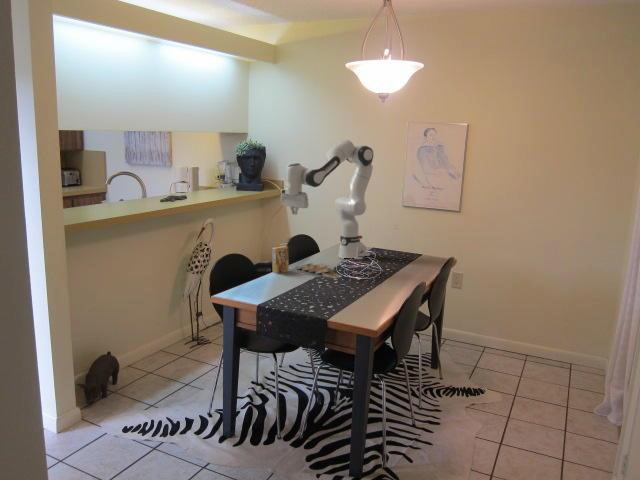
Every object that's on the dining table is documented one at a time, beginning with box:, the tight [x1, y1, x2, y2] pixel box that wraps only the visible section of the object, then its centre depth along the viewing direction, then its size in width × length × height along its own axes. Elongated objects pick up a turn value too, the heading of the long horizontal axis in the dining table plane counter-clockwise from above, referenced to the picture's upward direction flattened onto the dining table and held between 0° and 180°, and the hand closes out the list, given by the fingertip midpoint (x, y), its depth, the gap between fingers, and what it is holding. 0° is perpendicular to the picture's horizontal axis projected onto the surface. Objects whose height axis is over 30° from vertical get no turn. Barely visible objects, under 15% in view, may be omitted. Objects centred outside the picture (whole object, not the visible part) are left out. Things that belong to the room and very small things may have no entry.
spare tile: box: [308, 265, 328, 272], centre depth 290 cm, size 5×2×10 cm
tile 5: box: [321, 271, 342, 280], centre depth 284 cm, size 5×2×10 cm
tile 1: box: [295, 262, 315, 269], centre depth 297 cm, size 5×2×10 cm
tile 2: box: [302, 263, 321, 271], centre depth 293 cm, size 5×2×10 cm
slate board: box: [289, 267, 323, 278], centre depth 294 cm, size 12×24×1 cm, turn 48°
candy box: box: [271, 245, 290, 274], centre depth 292 cm, size 9×4×15 cm, turn 130°
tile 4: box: [315, 266, 335, 274], centre depth 286 cm, size 5×2×10 cm
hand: (294, 214), depth 307 cm, fingers closed
